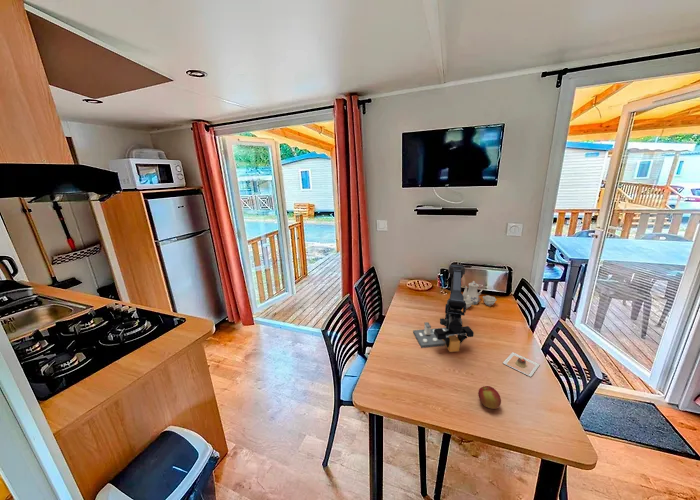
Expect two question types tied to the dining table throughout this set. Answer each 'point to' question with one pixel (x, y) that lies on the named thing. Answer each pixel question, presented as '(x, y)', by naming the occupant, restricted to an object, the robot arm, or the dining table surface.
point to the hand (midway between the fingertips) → (452, 346)
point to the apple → (489, 397)
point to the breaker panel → (429, 338)
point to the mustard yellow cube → (453, 344)
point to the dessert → (522, 363)
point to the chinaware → (476, 296)
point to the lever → (427, 328)
